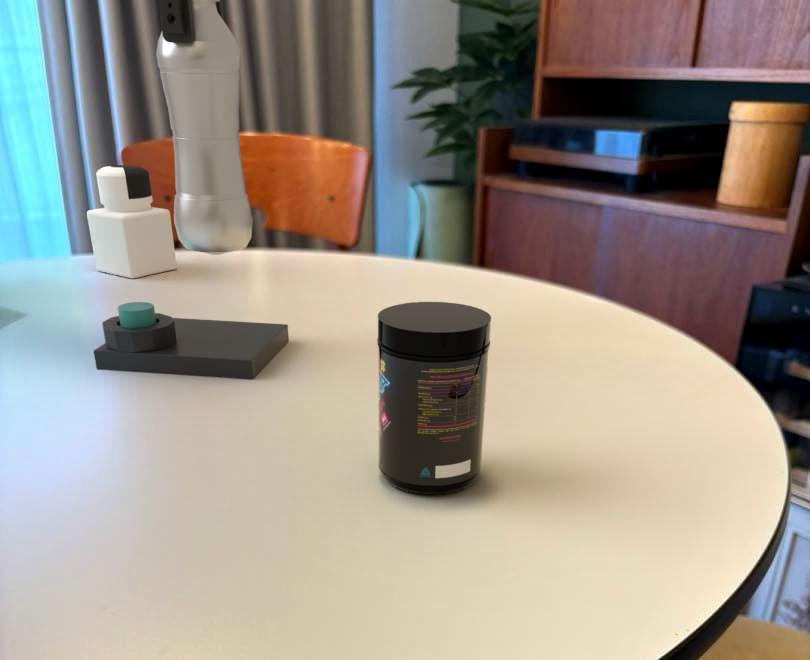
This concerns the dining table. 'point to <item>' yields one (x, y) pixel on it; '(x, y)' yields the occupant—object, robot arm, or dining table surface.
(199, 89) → the silver bottle
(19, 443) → the dining table surface
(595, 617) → the dining table surface
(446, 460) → the supplement container
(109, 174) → the medicine bottle
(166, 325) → the dark grey button base
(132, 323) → the button
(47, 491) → the dining table surface
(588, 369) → the dining table surface
